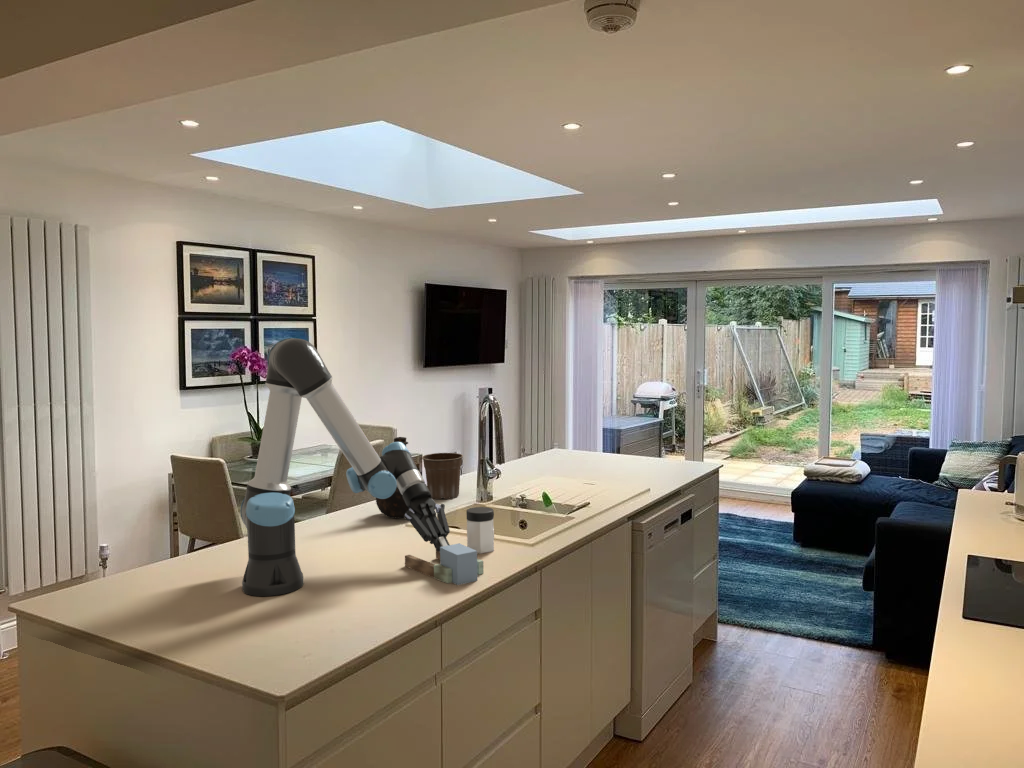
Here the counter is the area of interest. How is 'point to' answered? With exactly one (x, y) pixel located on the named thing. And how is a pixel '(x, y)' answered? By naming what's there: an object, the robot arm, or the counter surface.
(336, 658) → the counter surface
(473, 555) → the block
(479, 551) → the jar
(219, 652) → the counter surface
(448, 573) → the chute
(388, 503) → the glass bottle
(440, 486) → the plant pot
